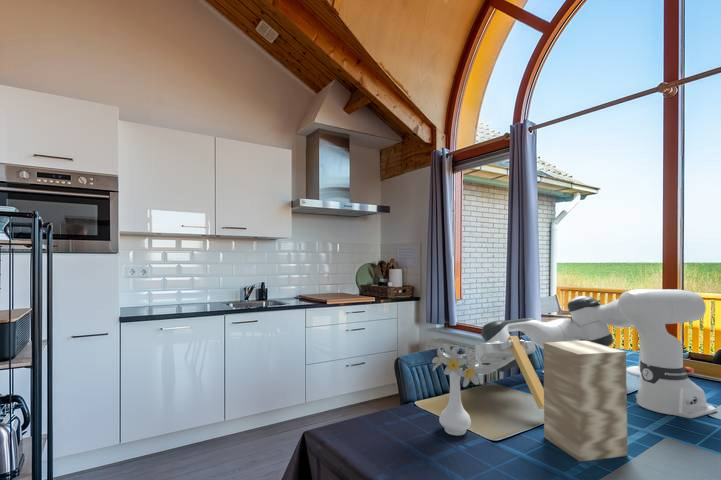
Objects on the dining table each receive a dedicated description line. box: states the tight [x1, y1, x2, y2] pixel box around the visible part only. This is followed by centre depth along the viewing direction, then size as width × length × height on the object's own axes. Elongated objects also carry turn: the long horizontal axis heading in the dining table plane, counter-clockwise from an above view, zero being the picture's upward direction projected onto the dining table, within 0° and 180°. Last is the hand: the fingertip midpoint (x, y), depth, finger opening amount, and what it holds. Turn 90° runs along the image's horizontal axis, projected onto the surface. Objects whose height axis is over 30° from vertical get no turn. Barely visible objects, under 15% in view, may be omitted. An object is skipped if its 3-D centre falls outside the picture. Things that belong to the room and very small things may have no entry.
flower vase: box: [431, 343, 484, 436], centre depth 113 cm, size 12×18×24 cm
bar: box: [507, 335, 544, 410], centre depth 128 cm, size 3×24×2 cm
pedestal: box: [543, 340, 629, 463], centre depth 105 cm, size 14×13×26 cm
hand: (517, 342), depth 134 cm, fingers closed on bar, 3 cm apart
